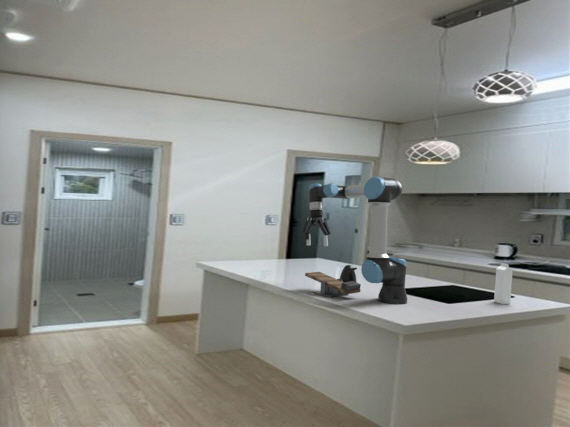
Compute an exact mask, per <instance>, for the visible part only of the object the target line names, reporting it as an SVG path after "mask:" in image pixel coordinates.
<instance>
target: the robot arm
mask: <svg viewBox="0 0 570 427" xmlns="http://www.w3.org/2000/svg"><path fill="white" fill-rule="evenodd" d="M402 193H403V186H402V184H401V182H400V181H399V180H398V179H395V178H392V177H384V176H372V177H370V178H368V179H367V181H365V184H357V185H356V184H355V185H338V184H337V185H336V184H335V183H333V182H331V183H327V184H324V185H323V184H321V183H311V184H309V186H308V195H309V196H308V198H309V216H308V217H306V220H305V224H304V226H303V229H302V233H303V234H304V235H305V240H306V247H307V246H311V244H312V243H311V242H312V240H311V238H312V237H311V231H312V229H313V228H314V227H315V226H317V227H319V229H320V230H321V231H322V234H324V235H323V247H328V246H329V236H330V235H331V230H330V227H329V224H328V222H327V218H323V216H324V213H323V199H327V198H330V199H332V198H333V199H340V200H341V199H343V200H348V199H367V204H368V205H369V206H370V218H369V219H370V227H369V231H370V232H369V253H368V254H367V255H366V258H365V259H366V260H365V261H363V263H362V264H361V270H360V271H361V275H362V276H363V278H364V280H365V281H366V282H368V283H370V284H380V283H381V284H382V285H381V288H380V290H379V293H378V295H377V296H378V297H377V300H378V301H380V302H383V303H386V304H387V303H388V304H396V305H397V304H398V305H400V304H401V305H402V304H407V303H408V295H407V290H406V275H407V260H405V259H403V258H397V257H392V256H389V255H388V254H387V250H388V249H387V248H388V215H389V214H388V210H389V208H388V207H389V206H390V205H392V201H395V200H398V198H400V197H401V195H402Z"/></svg>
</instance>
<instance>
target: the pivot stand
mask: <svg viewBox="0 0 570 427" xmlns="http://www.w3.org/2000/svg"><path fill="white" fill-rule="evenodd" d="M337 279H338V280H340V281H342V282H343V279H340V278H337ZM313 294H314V295H317V296H321V297H326V298H330V299H333V298H339V297H340V296H341V297H346V296H349V294H345V293H342V292H340V291H338V290H336V289H333V288H331V287H329V286H327V281H323V280H322V281H321V283H320V291H314V292H313Z"/></svg>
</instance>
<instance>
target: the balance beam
mask: <svg viewBox="0 0 570 427" xmlns="http://www.w3.org/2000/svg"><path fill="white" fill-rule="evenodd" d="M304 276H306V277H307V278H310V279H311V280H314V281H315V282H318V283H320V284H321V281H322V280H323V281H327V286H329V287H331V288H333V289H336V290H338V291H340V292H342V293H345V294H348V295H350V294H356V293H357V294H359V293H361V286H362V285H361V284H362V283H358V282H354V281H351V282H342V281H340V280H338V279H339V278H336V277H332V276H330V275H328V274H326V273H323V272H321V271H315V272H314V271H312V272H305V274H304Z"/></svg>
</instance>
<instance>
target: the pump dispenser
mask: <svg viewBox="0 0 570 427" xmlns="http://www.w3.org/2000/svg"><path fill="white" fill-rule="evenodd" d="M355 270H358V268H357V267H353V265H350V264H346V265H345V266H344V267H343V269H342V270H341V273H340V275H339V279H343V282H351V281H354V282H357V274H356V271H355ZM357 283H358V282H357Z"/></svg>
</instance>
